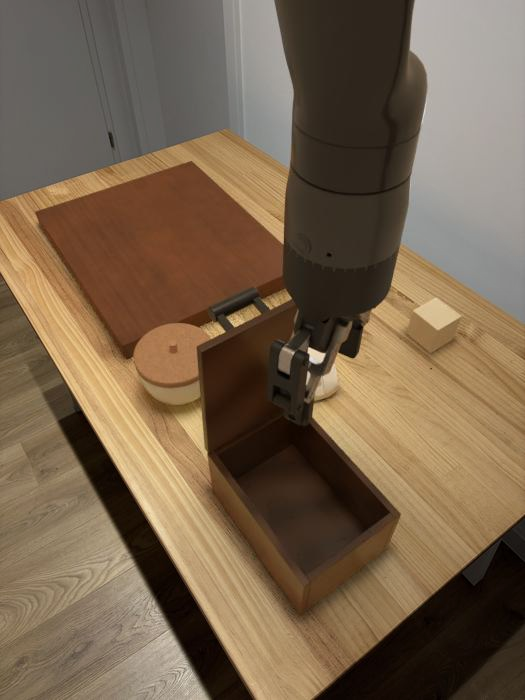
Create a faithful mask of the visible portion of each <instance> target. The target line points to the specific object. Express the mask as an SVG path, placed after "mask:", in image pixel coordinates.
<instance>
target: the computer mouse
mask: <svg viewBox="0 0 525 700" xmlns="http://www.w3.org/2000/svg"><path fill="white" fill-rule="evenodd" d="M308 354H310V357H311V358H313V359H315V360H317V361H319V362H322V361H323V359H324V356H325V354H326V353H320V352H318V351H316V350H314V349H312V348H309V347H308ZM309 378H310V373H309V372H308V373H307V381H306V385H307V384H308V381H309ZM338 388H339V377H338V372H337V367H336V364H335V363H334V364H333V366H332V369H331V371H330V373H329V374H327V375H324V376H322V377H321V379H320V381H319V384H318V386H317V389H316V391H315V396H314V402H317V401H321V400H325V399H327V398H330V397H331V396H333V395H334V394H335V393H336V392H337V391H338Z"/></svg>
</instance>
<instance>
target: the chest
mask: <svg viewBox="0 0 525 700" xmlns="http://www.w3.org/2000/svg"><path fill="white" fill-rule="evenodd" d="M206 456H207V463H208V469H209V477H210V483H211V487H212V488H211V490H212V492H213V494H214V496H215V497H216V498H217V499H218V501H219V502H220V504H221V505H222V507H223V508H224V509H225V511H226V513H227V514H228V515H229V517H230V518H231V519H232V521H233V522H234V523H235V525H236V527H237V528H238V530H239V531H240V533H241V534H242V535H243V536H244V538H245V539H246V541H247V542H248V544H249V546H250V547H251V549H253V551H254V553H255V554H256V556H257V557H258V558H259V559H260V561H261V562H262V564H263V565H264V567H265V568H266V570H267V571H268V573H269V574H270V575H271V577H272V578H273V579H274V581H275V582H276V585H278V587H279V588H280V590H281V591H282V593H283V595H285V597H286V598H287V600H288V601H289V602H290V604H291V605H292V607H293V608H294V610H295V611H296V613H297V614H298V615H299V616H302V615H303V614H304V613H306V612H307V611H308V610H309V609H310V608H312V607H313V606H314V605H316V604H317V603H318V602H319V601H321V600H322V599H324V598H325V597H327V596H328V595H329V594H330V593H332V591H334V590H335V589H336V588H338V587H339V586H340V585H342V584H343V583H344V582H346V581H347V580H348V579H349V578H351V577H352V576H353V575H355V574H356V573H357V572H358V571H360V570H361V569H363V568H364V567H365V566H367V565H368V564H369V563H370V562H371V561H373V560H374V559H376V558H377V557H378V556H380V554H382V553H383V552H385V551H386V550H387V549H388V547H389V545H390V543H391V540H392V538H393V535H394V533H395V531H396V528H397V525H398V523H399V520H400V519H401V516H402V513H401V512H400V511H399V510H398V509H397V507H396V506H394V505H393V503H392V502H391V501H390V500H389V499H388V498H387V496H386V495H384V494H383V492H382V491H381V490H380V489H379V488H378V487H377V486H376V485H375V483H374V482H373V481H372V480H370V478H369V477H368V476H367V475H366V474H365V473H364V472H363V471H362V470H361V468H360V467H359V466H358V465H357V464H356V463H355V462H354V461H353V460H352V459H351V457H350V456H349V455H348V454H347V453H346V452H345V451H344V449H342V448H341V447H340V446H339V444H338V443H337V442H336V441H335V440H334V439H333V438H332V436H330V435H329V433H327V431H326V430H325V429H324V428H323V427H322V426H321V424H319V423H318V422H317V420H316V419H315V418H313V416H312V419H311V421H310V422H309V424H308V425H307V426H303V425H301V426H300V425H298V424H296V423H294V422H292V421H290V420H288V419H287V418H285V417H284V409H283V410H281V411H280V412H278V413H276V414H275V415H273V416H271V417H269V418H268V419H266V420H264V421H263V422H261V423H259V424H258V425H256V426H254V427H252V428H251V429H249V430H247V431H246V432H244V433H242V434H240V435H239V436H237V437H235V438H234V439H232V440H230V441H228V442H227V443H225V444H223V445H222V446H220V447H218V448H217V449H215V450H213V451H211V452H210V453H208V452H207V453H206Z"/></svg>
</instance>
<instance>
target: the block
mask: <svg viewBox="0 0 525 700" xmlns="http://www.w3.org/2000/svg"><path fill="white" fill-rule="evenodd" d="M461 319H462V315H461V314H459V313H458V312H457V311H456V310H454V309H453V308H452V307H450V306H449V305H448V304H446V303H445V302H443V301H442V300H441V299H439V298H438V297H434V298H432V299H431V300H429V301H427V302H425V303H424V304H422V305H421V306H418V307H416V308H415V309H413V310H412V312H411V315H410V319H409V323H408V327H407V330H406V335H407V336H409V338H411V339H412V340H413V341H415V342H416V343H417V344H418V345H420V346H421V347H422V348H423V349H424V350H426V351H427V352H428V353H429V354H432V353H433V352H435V351H437V350H438V349H441V347H443V346H445V345H447V344H448V343H450V342H451V341H453V340H454V338H455V335H456V332H457V330H458V327H459V325H460V322H461Z"/></svg>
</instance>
